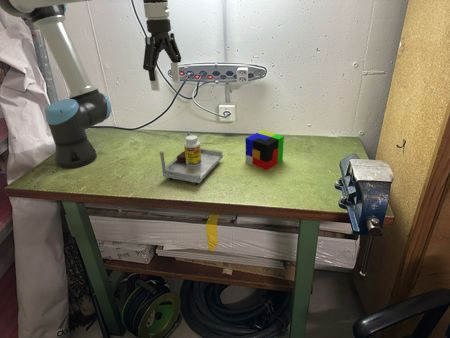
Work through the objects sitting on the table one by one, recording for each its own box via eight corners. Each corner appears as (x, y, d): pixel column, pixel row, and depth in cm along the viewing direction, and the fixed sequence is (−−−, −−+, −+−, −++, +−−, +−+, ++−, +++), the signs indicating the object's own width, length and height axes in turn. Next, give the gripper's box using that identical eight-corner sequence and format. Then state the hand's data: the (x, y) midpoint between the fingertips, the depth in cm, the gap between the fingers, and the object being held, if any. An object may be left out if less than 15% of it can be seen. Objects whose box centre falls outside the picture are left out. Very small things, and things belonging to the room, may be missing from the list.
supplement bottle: (187, 168, 106) (184, 141, 101) (185, 161, 111) (182, 135, 106) (202, 165, 107) (200, 139, 102) (200, 159, 112) (198, 133, 107)
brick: (186, 169, 111) (185, 157, 108) (177, 167, 112) (175, 156, 110) (200, 157, 119) (200, 146, 117) (192, 155, 121) (191, 145, 118)
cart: (163, 180, 105) (159, 152, 100) (190, 156, 121) (188, 130, 116) (199, 187, 100) (197, 158, 95) (222, 161, 116) (221, 134, 111)
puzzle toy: (245, 162, 115) (245, 138, 110) (261, 153, 121) (261, 130, 117) (267, 170, 109) (267, 145, 104) (282, 160, 115) (283, 136, 110)
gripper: (144, 20, 85) (155, 95, 95) (186, 16, 105) (192, 78, 115) (123, 21, 88) (136, 93, 98) (168, 16, 108) (175, 77, 118)
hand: (166, 85), depth 107 cm, fingers open, 13 cm apart
